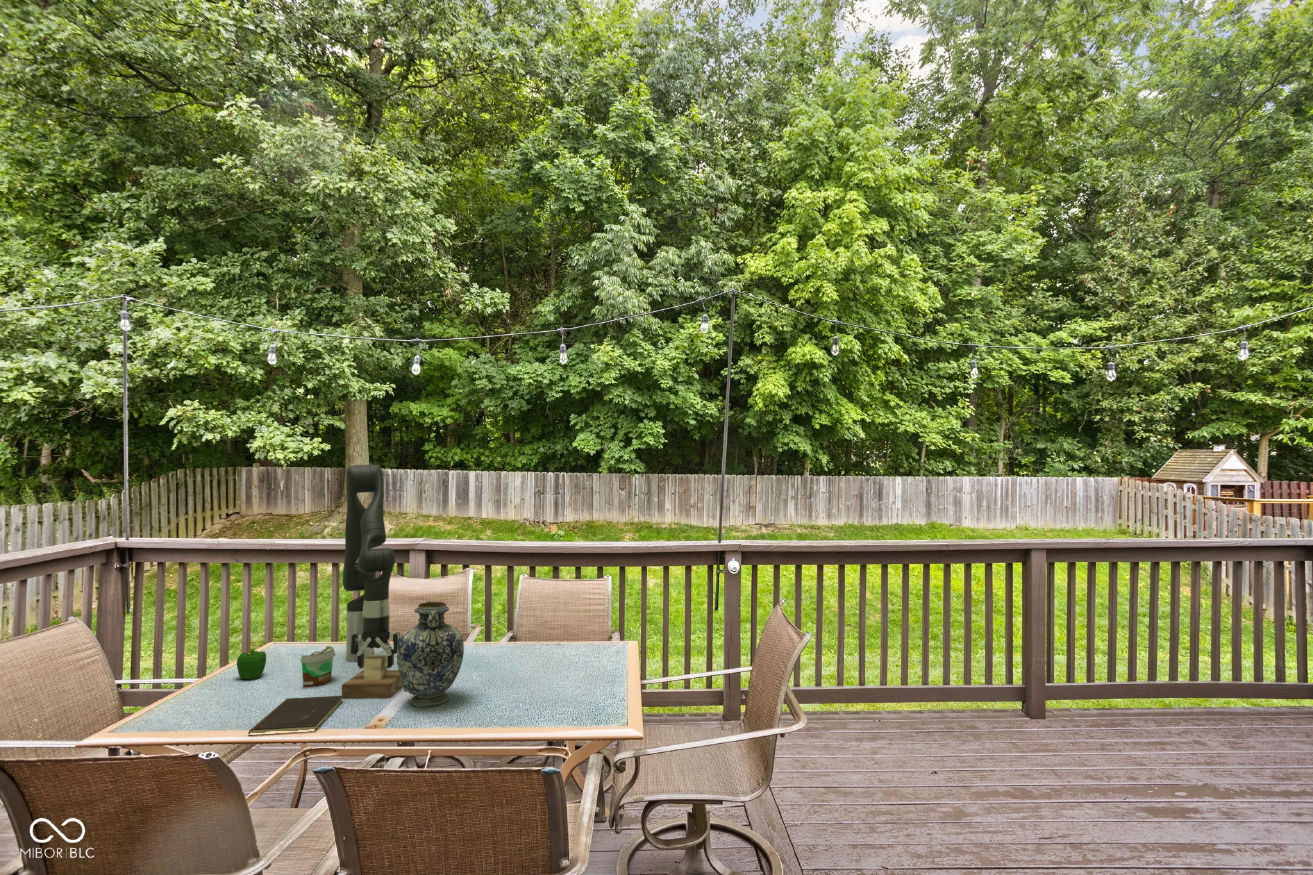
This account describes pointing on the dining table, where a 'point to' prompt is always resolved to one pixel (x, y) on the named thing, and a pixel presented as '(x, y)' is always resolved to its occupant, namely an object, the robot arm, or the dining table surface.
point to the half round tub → (317, 667)
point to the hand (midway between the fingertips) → (375, 667)
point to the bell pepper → (251, 664)
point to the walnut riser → (372, 686)
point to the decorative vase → (430, 656)
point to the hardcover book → (298, 714)
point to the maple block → (375, 667)
